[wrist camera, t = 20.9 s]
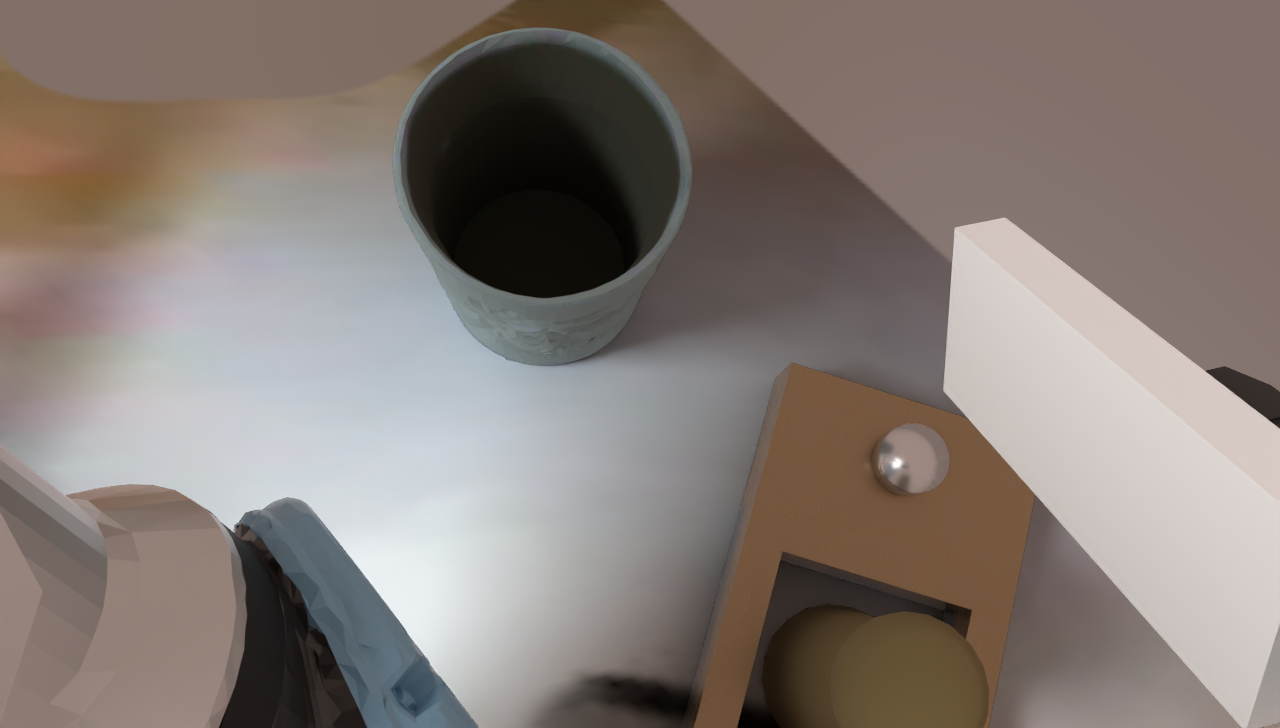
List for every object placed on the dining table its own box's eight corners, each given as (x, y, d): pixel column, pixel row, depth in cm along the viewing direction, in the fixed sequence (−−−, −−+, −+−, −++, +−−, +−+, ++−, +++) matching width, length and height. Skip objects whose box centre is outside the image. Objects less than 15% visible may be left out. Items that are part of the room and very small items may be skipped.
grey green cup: (637, 399, 47) (675, 325, 36) (404, 366, 47) (365, 279, 35) (664, 184, 50) (707, 50, 38) (443, 149, 49) (419, 1, 38)
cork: (917, 628, 46) (1035, 629, 36) (884, 773, 45) (997, 819, 34) (782, 586, 46) (860, 573, 36) (745, 730, 45) (814, 762, 34)
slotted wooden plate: (897, 1014, 43) (937, 1055, 39) (625, 932, 42) (636, 965, 38) (1014, 453, 49) (1059, 437, 45) (775, 378, 48) (799, 355, 44)
